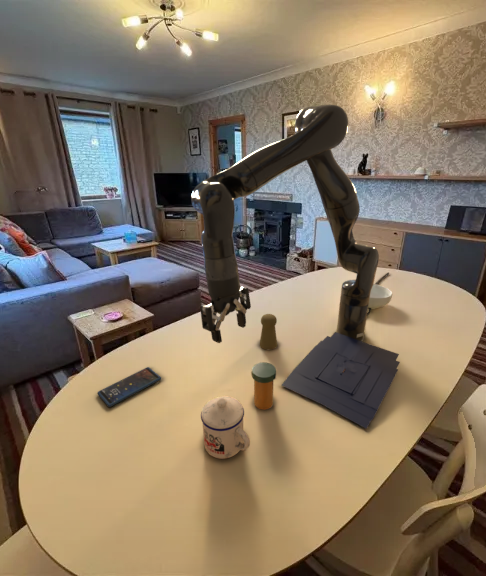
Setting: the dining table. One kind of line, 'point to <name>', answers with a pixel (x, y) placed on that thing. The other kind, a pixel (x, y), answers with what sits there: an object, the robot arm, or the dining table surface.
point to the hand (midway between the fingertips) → (230, 333)
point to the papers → (345, 376)
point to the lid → (263, 372)
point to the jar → (263, 395)
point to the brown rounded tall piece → (268, 332)
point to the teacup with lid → (224, 427)
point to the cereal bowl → (379, 296)
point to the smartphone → (128, 386)
